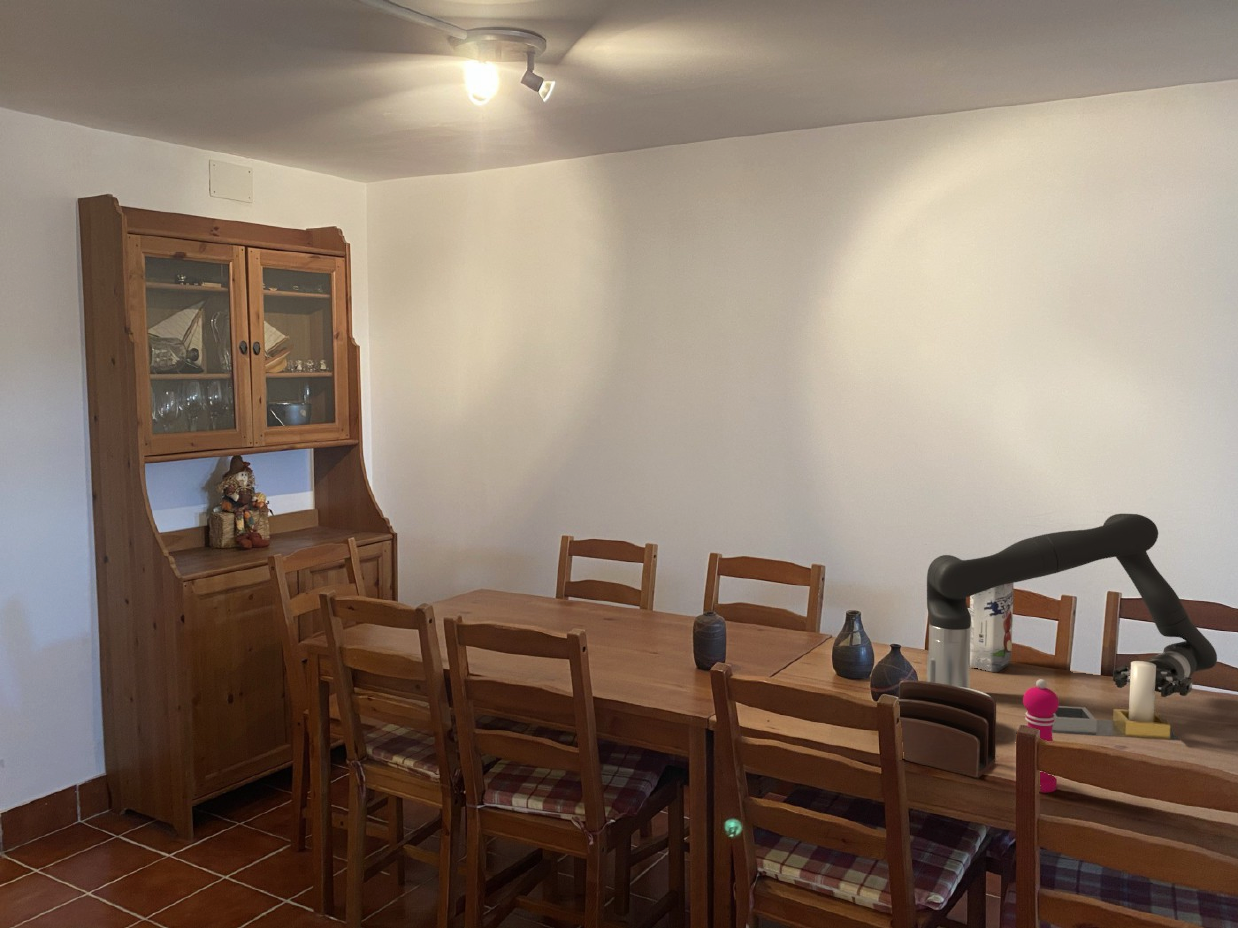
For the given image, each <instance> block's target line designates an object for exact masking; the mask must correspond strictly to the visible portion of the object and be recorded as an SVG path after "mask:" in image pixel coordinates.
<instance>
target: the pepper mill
mask: <svg viewBox="0 0 1238 928" xmlns="http://www.w3.org/2000/svg"><path fill="white" fill-rule="evenodd" d="M1047 685H1048V684H1047V681H1046V680H1044V679H1043V678H1042V679H1041V678H1039V679H1037V680H1036V683H1035V686H1032V687H1030V688H1028V689H1027V690H1026V691H1025V693H1024V694H1023V698H1022V704H1023V706H1024V708H1025V709H1026V711H1025V719H1024V720H1025V721H1026V722H1027V728H1028V727H1032V728H1036V729H1039V730H1040V738H1041V739H1043V740H1047V741H1053V742H1054V739H1053V733H1052V725H1053V724H1055V715H1054V713H1055V712H1056V711H1057V709H1058V707H1059V706H1060V705H1059V703H1060V702H1059V698H1058V696H1057V693H1055V692H1054V691H1053V690H1052V689H1050V688H1048V687H1047ZM1054 776H1055V775H1054ZM1054 776H1052V775H1048V774H1047V773H1044V772H1040V785H1041V792H1040V793H1051V792H1054V791H1056V790H1057V786H1058V785H1057V784H1058V779H1057V777H1056V776H1055V777H1056V778H1055V777H1054Z"/></svg>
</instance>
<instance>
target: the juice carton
mask: <svg viewBox="0 0 1238 928" xmlns="http://www.w3.org/2000/svg"><path fill="white" fill-rule="evenodd" d="M969 613H970V615H971V637H970V668H971V667H973V668H972V669H974V668H978V669H977V670H980V669H982V670H981V671H985V670H986V671H985V672H989V673H990V672H992V673H999V672H1000V671H1002V670H1003V669H1006V668H1007V667H1008V666H1009V665H1010V662H1011V657H1012V644H1013V621H1014V619H1013V617H1014V616H1013V615H1014V583H1009V584H1004V585H1000V586H997V587H994V588H991V589H988V590H985V591H982V592H980V593H977V594H974V595H972V596H969Z"/></svg>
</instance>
